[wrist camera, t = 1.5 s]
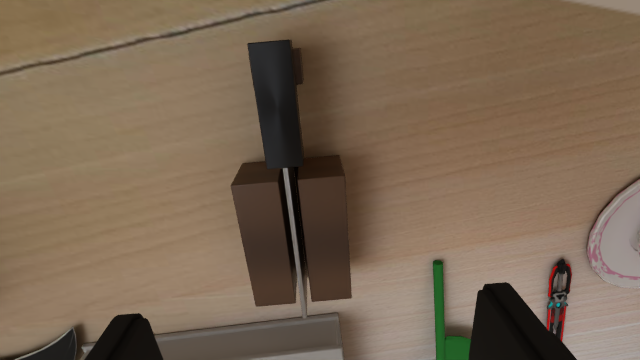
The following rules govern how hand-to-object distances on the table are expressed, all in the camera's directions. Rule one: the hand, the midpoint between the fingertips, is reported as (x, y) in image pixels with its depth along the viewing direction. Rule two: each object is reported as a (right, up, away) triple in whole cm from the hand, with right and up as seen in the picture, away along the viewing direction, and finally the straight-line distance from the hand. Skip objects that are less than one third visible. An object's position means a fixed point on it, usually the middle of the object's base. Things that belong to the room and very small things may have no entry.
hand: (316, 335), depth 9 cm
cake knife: (-2, +5, +15) cm, 16 cm away
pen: (+22, -8, +22) cm, 32 cm away
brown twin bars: (-2, +5, +15) cm, 16 cm away
